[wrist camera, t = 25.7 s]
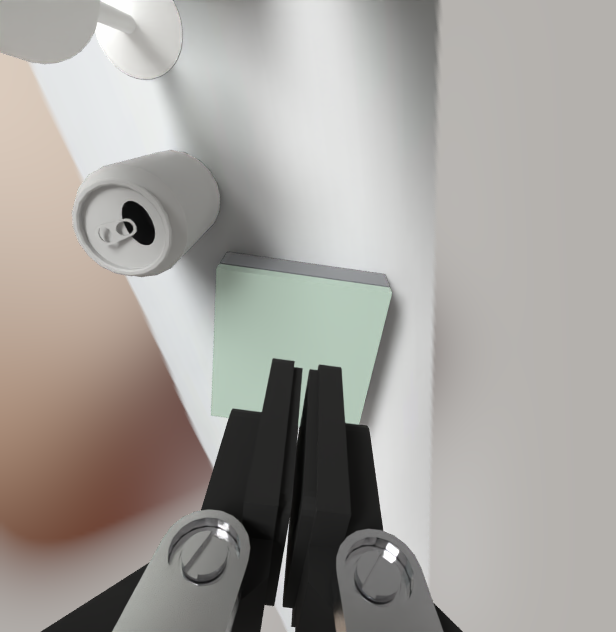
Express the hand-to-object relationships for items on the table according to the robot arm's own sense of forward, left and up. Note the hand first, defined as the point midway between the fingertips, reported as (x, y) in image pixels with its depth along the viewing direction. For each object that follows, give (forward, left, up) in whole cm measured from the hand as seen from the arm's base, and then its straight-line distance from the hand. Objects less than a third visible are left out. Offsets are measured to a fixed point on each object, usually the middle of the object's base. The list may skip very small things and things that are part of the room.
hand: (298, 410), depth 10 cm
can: (+2, -12, -29) cm, 31 cm away
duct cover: (+14, 0, -25) cm, 29 cm away
